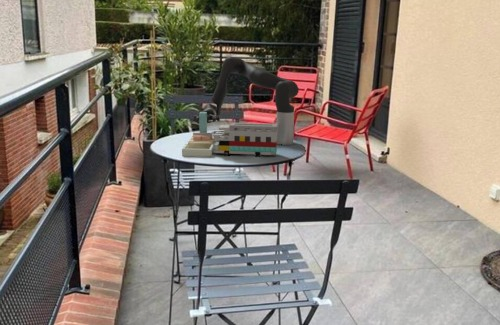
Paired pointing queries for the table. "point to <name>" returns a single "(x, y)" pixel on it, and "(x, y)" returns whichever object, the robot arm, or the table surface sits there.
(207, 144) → the board
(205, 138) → the tile
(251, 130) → the toy vehicle
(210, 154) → the tray
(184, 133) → the table surface
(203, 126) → the tall teal pillar block
